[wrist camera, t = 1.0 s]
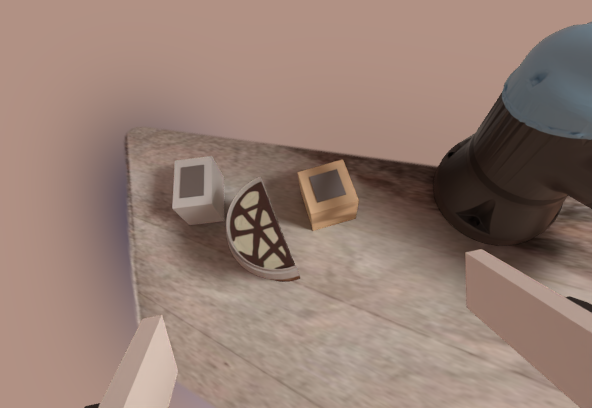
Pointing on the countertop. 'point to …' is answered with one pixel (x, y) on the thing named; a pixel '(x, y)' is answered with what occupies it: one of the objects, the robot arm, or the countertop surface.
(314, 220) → the oak block
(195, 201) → the grey painted block
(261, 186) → the food container
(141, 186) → the countertop surface
